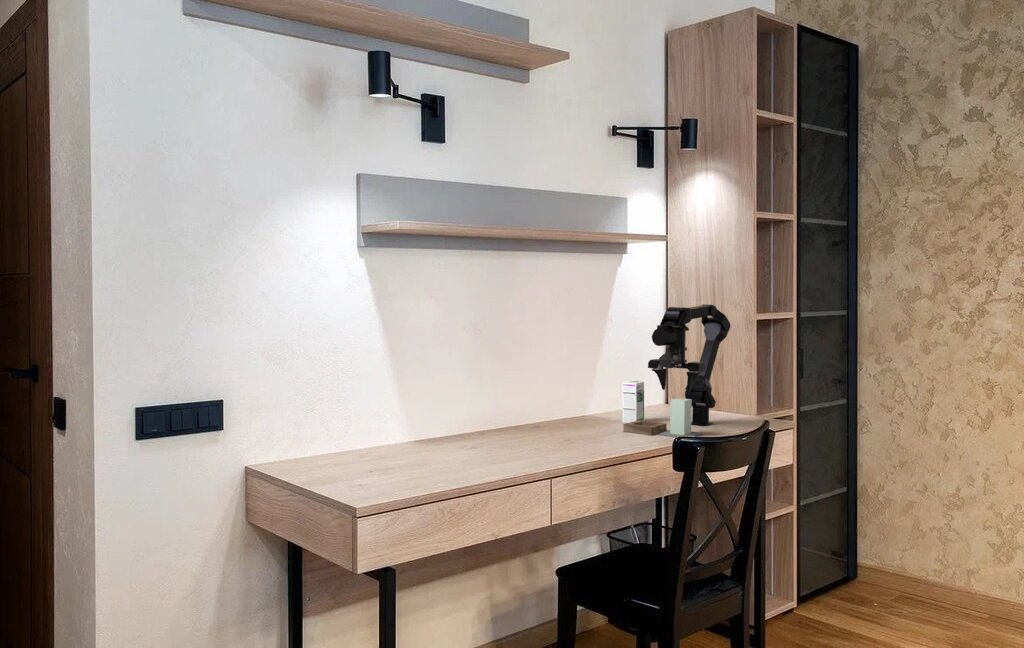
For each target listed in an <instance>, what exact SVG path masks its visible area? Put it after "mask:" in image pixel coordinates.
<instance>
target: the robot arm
mask: <svg viewBox="0 0 1024 648" xmlns="http://www.w3.org/2000/svg"><path fill="white" fill-rule="evenodd" d="M695 319H701V321H700V322H701V324H702V325H703V327H704V328H703V332H704V336H705V341H704V345H703V348H702V353H701V355H700V358H699V359H700V360H699V361H690V362H689V361H688V360H687V359H686V352H687V351H688V347H686V334H687V333H686V332H688V331H689V330H690V328H689V327H688V326H687V324H690V323H691V321H692V320H695ZM730 329H731V322H730V321H729V319H728V317H727V315H725V314H724V313H723V312H722V311H720V309H719V310H718V308H717V306H716V305H714V304H701V305H697V306H691V307H690V306H689V307H679V306H678V307H677V306H669V307H667V308H666V311H665V312H664V314H663V317H662V319H661V320H660V323H659V324H657V325H656V329H655V330H653V332H652V334H651V340H652V343H653V344H654V345H656V346H657V347H663V346H667V347H665V353H663V354H662V355H661V356H659V358H655V359H649V361H648V362H647V363H648V364H647V368H648V369H651V372H654V373H655V374H656V376H657V378H658V381H659V383H660V386H661V387H660V388H661V389H662V390H663V391H665V390H666V385H667V384H666V382H667V370H668V369H687V371H686V373H685V374H686V376H687V380H686V381H687V383H686V387H685V388H684V389H685V391H684V399H692V409H691V425H695V426H703V427H704V426H709V425H712V424H713V423H714V422H713V421H710V409H714V408H715V407H716V404H717V402H716V401H717V400H716V399H715V397H714V396H713V394H712V390H713V389H712V384H711V382H710V379H711V376H712V372H713V370H714V365H715V362H716V359H717V354H718V352H719V348H720V345H721V343H722V342H723V341H725V339H726V338H727V336H728V334H729V331H730Z"/></svg>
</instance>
